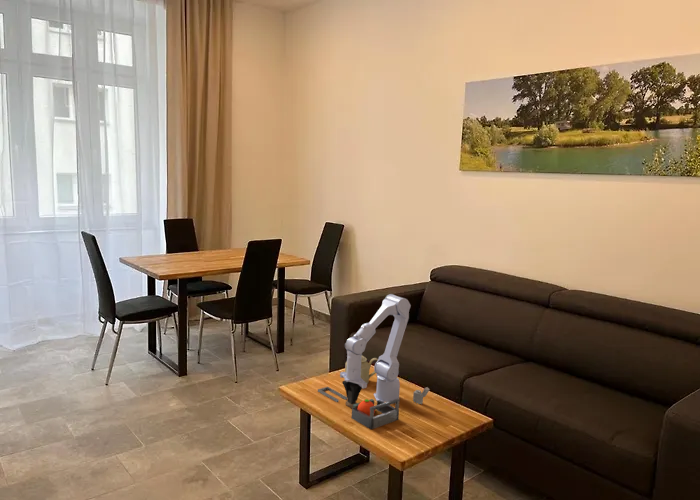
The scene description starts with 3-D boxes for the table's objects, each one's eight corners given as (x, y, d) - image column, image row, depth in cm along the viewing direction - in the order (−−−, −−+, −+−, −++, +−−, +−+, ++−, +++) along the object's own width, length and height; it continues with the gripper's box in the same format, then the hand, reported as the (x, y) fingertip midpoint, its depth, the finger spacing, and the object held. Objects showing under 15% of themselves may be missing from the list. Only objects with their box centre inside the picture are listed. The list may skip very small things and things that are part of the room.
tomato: (356, 412, 215) (357, 395, 214) (374, 413, 215) (375, 396, 214) (357, 421, 207) (358, 403, 206) (375, 422, 207) (376, 404, 206)
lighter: (412, 401, 228) (413, 383, 227) (415, 400, 229) (416, 382, 228) (425, 407, 223) (427, 388, 222) (428, 406, 224) (429, 387, 223)
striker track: (317, 391, 233) (317, 389, 233) (327, 388, 237) (327, 386, 237) (337, 402, 223) (337, 400, 223) (347, 399, 227) (347, 397, 227)
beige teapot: (365, 373, 257) (367, 343, 255) (380, 381, 248) (382, 350, 246) (339, 379, 248) (341, 348, 246) (354, 388, 239) (356, 355, 237)
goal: (351, 418, 209) (352, 397, 208) (378, 409, 219) (380, 389, 218) (370, 429, 201) (372, 408, 200) (398, 419, 210) (400, 399, 209)
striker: (338, 406, 219) (339, 391, 218) (357, 401, 225) (358, 386, 224) (354, 415, 211) (355, 400, 210) (373, 409, 218) (374, 394, 217)
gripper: (334, 363, 221) (333, 395, 223) (358, 374, 210) (356, 408, 212) (348, 360, 226) (346, 391, 227) (371, 371, 215) (369, 403, 217)
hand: (352, 399), depth 220 cm, fingers open, 3 cm apart
